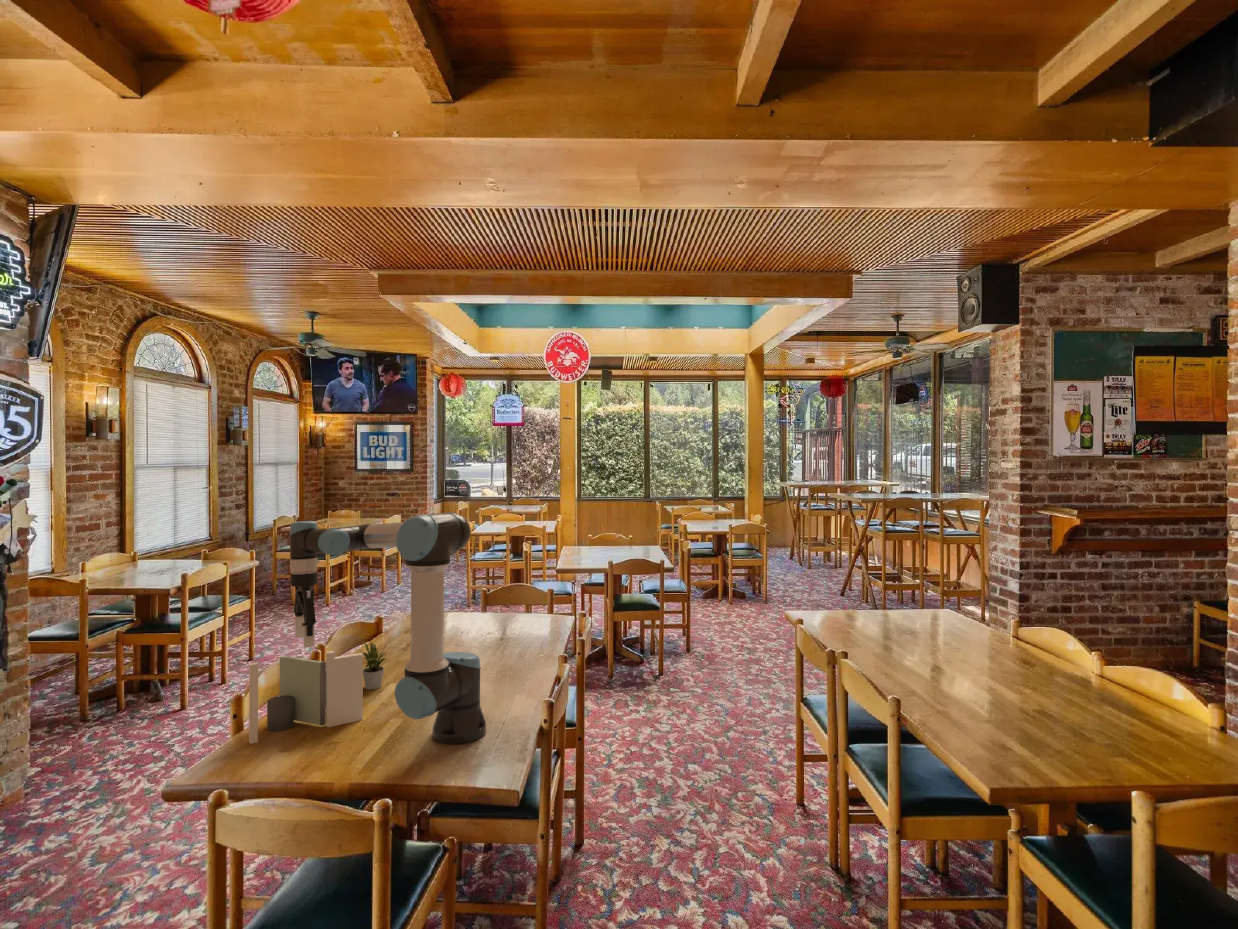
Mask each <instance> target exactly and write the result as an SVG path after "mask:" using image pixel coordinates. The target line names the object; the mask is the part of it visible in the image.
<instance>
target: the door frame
mask: <svg viewBox="0 0 1238 929" xmlns="http://www.w3.org/2000/svg"><path fill="white" fill-rule="evenodd" d="M362 653H363V652H360V653H359V652H358V653H352V654H347V655H339V656H335V654H336V651H334V650H330V651H326V652H325V662H326V724H325V726H326V728H331V727H335V726H341V725H345V724H351V723H355V722H359V721H363V718H364V717H363V716H364V714H363V706H364V705H363V702H364V700H363V698H364V697H363V696H364V694H363V691H364V687H363V686H364V684H363V681H364V676H363V667H364V665H363V663H364V658H363V656H364V653H363V654H362ZM248 667H249V668H248V670H249V671H248V672H249V673H248V674H249V675H248V680H249V682H248V686H249V687H248V690H249V691H248V693H249V695H248V698H249V699H248V743H249V745H252V744H257V743H259V662H258V661H257V662H252V663H251V662H250V663H249V665H248Z"/></svg>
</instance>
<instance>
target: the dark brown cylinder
mask: <svg viewBox="0 0 1238 929" xmlns="http://www.w3.org/2000/svg"><path fill="white" fill-rule="evenodd" d="M266 710H267V711H266V712H267V713H266V715H267V716H266V718H267V719H266V721H267V722H266V729H267V731H270V732H282V731H285V730H286V731H287V730H289V729H290V728H292V727H294V725H295V720H294V697H293V696H289V695H284V696H280V695H277V696H273V697H271V698H269V699H268V700H267V701H266Z"/></svg>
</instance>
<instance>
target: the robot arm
mask: <svg viewBox="0 0 1238 929" xmlns="http://www.w3.org/2000/svg"><path fill="white" fill-rule="evenodd" d="M289 527H290V530H289V572H291V574H290V575H289V580H290V582H289V584H290V586H291V587H294V589H295V595H294V596H295V597H294V607H293V613H294V616H295V617H294V622H295V623H294V625H295V626H294V627H295V629H294V630H295V633H294V634H295V636H294V637H295V638H294V639H299V638H303V648H304V649H306V648H311V647H315V624H317V620H316V619H317V618H316V612H315V602H314V601H315V600H314V590H311V586H315V585H316V586H317V584H318V583H319V578H318V577H319V575H318V572H317V571H318V564H319V563H320V559H318V555H328V556H333V555H341V554H344V553H345V552H350V551H351V552H352V551H357V550H358V551H359V550H367V549H368V550H369V549H384V548H385V549H387V548H391V549H392V548H396V549H397V551H398V552H399V555H400V557H402V558H403V559H404V560H405V564H404V565H405V566H406V567H407V568H408V570H410V573H411V574H410V576H411V577H410V579H411V580H410V587H411V588H410V659H409V660H408V661H407V662H406V663H405V665H404V671H403V672H404V677H403V678H401V679H400V680H399V681H398V682H397V684H396V685H395V689H394V698H395V701H396V704H397V706H398V708H399V709H400V710H401V711H402V713H403V715H405V716H407V717H408V718H411V719H413V720H421V719H422V720H423V719H424V718H427V717H430V716H433V715H434V714H435V713H436V717H435V719H434V722H433V725H432V739H433V740H434V741H435V742H438V743H441V744H447V745H458V744H459V745H460V744H467V743H470V742H473V741H474V742H475V741H477V740H479V739H480V738H482V737H483V736H484V735H485V734H486V733H487V723H486V722H487V721H486V719H485V716H484V713H483V710H482V708H481V669H482V668H481V661H480V660H481V659H480V657H479V656H478V655H477V654H475V653H473V652H466V651H465V652H464V651H453V652H452V651H451V652H444V642H445V641H444V637H445V636H444V632H445V631H444V629H445V628H444V624H445V622H444V621H445V620H444V618H445V610H444V609H445V604H444V603H445V570H446V568H448V566H449V565H450V564H451V554H454V553H456V552H459V551H461V550H462V549H463V548H465V547H466V546H467V545H468V543H469V541H470V539H471V531H472V530H471V525H470V523H469V521H468V520H467V519H466V518H465V517H464V516H463V515H461V514H459V513H456V512H452V511H451V512H450V511H449V512H448V511H447V512H441V513H428V514H426V513H425V514H418V515H415V516H410V517H409V518H407V519H406V520H404V521H402V522H388V523H387V522H385V523H374V524H372V523H371V524H370V523H366V524H365V523H364V524H360V525H352V526H351V525H350V526H339V527H331V528H319V527H318V522H317V521H315V520H301V521H300V520H299V521H293V522H291V523H290V525H289Z"/></svg>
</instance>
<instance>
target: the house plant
mask: <svg viewBox="0 0 1238 929" xmlns="http://www.w3.org/2000/svg"><path fill="white" fill-rule="evenodd" d="M361 642H362V643H363V644H364V646H365V649H366V651H367V652H366V651H363V650H359V652H358V653H362V654H363V656H364V657H363V659H364V660H366V661H364V662H363V663H364V664H363V667H365V668H364V669H363V681H364V685H365V686H364V687H365V690H369V691H370V690H371V691H372V690H373V691H374V690H377V689H380V688H381V687H382V684H383V678H384V673H385V667H384V666H383V665H384V664H385V663H386V662H391V659H390V660H387V658H382V657H384V656H385V653H384V652H385V649H386V647H387V645H388V644H386V645H385V647H384V648H383V650H382V651H381V652H380V654H379V650H377V647H376V645H377V642H376V643H373V641H370V644H369V646H368V644H367V643H366V642H365V641H362V640H361ZM392 647H393V645H392V646H390V647H388V649H389V648H392ZM351 648H352V649H353V648H354V649H356V647H355V646H354V647H353V646H351V647H350V649H351ZM385 660H386V661H385ZM383 661H385V662H383Z"/></svg>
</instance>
